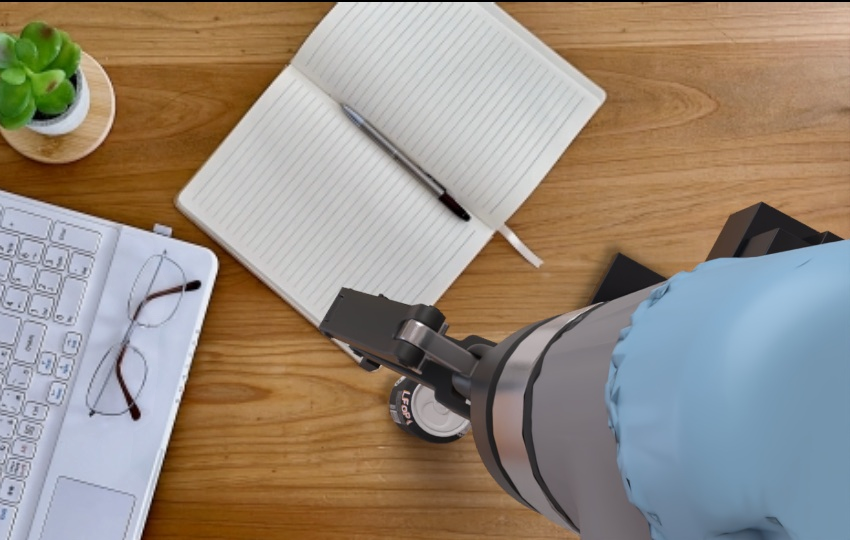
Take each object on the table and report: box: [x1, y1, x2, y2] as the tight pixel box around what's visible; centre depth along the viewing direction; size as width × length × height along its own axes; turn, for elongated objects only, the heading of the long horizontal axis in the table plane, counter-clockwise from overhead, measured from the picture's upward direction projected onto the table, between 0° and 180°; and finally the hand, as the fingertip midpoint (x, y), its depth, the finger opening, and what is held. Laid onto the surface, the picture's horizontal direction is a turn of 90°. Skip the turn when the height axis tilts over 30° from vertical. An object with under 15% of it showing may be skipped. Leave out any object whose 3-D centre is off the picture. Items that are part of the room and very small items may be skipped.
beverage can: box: [388, 375, 472, 445], centre depth 68 cm, size 6×6×12 cm
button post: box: [583, 200, 846, 308], centre depth 61 cm, size 12×12×26 cm
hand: (477, 409), depth 50 cm, fingers open, 13 cm apart
